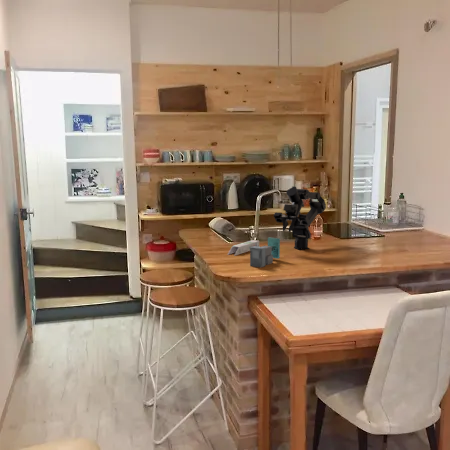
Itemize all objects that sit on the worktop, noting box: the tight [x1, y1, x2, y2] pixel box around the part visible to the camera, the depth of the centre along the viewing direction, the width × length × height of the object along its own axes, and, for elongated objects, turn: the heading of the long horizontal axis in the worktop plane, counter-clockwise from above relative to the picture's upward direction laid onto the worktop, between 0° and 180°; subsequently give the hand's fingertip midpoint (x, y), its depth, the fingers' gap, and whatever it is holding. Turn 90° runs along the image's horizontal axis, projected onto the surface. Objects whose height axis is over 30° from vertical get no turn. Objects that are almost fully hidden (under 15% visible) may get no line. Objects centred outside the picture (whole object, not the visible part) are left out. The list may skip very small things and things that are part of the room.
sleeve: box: [261, 245, 274, 266], centre depth 244 cm, size 6×6×8 cm
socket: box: [249, 246, 266, 268], centre depth 238 cm, size 4×6×9 cm, turn 56°
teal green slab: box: [267, 236, 281, 259], centre depth 246 cm, size 13×6×10 cm, turn 146°
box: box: [227, 239, 260, 257], centre depth 271 cm, size 4×4×28 cm
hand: (286, 231), depth 261 cm, fingers open, 3 cm apart
